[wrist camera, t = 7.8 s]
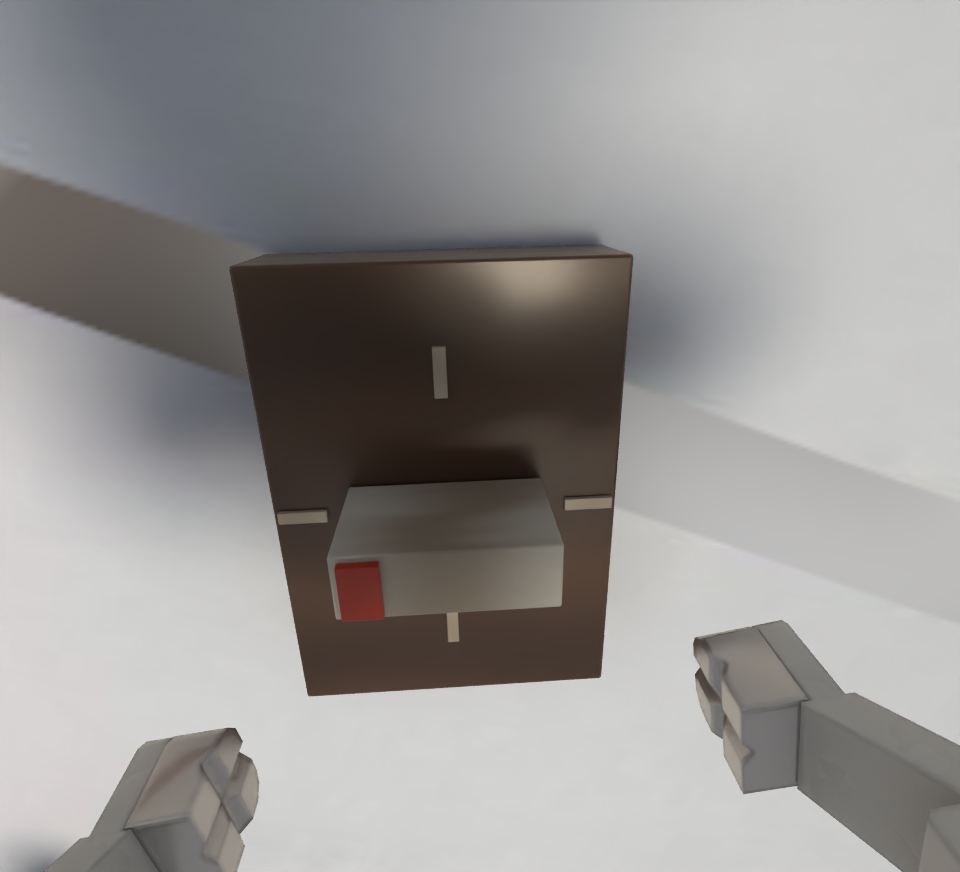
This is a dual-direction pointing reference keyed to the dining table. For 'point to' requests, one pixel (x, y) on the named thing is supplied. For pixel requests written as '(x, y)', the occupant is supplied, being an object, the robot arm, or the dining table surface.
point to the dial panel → (440, 435)
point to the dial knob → (445, 549)
